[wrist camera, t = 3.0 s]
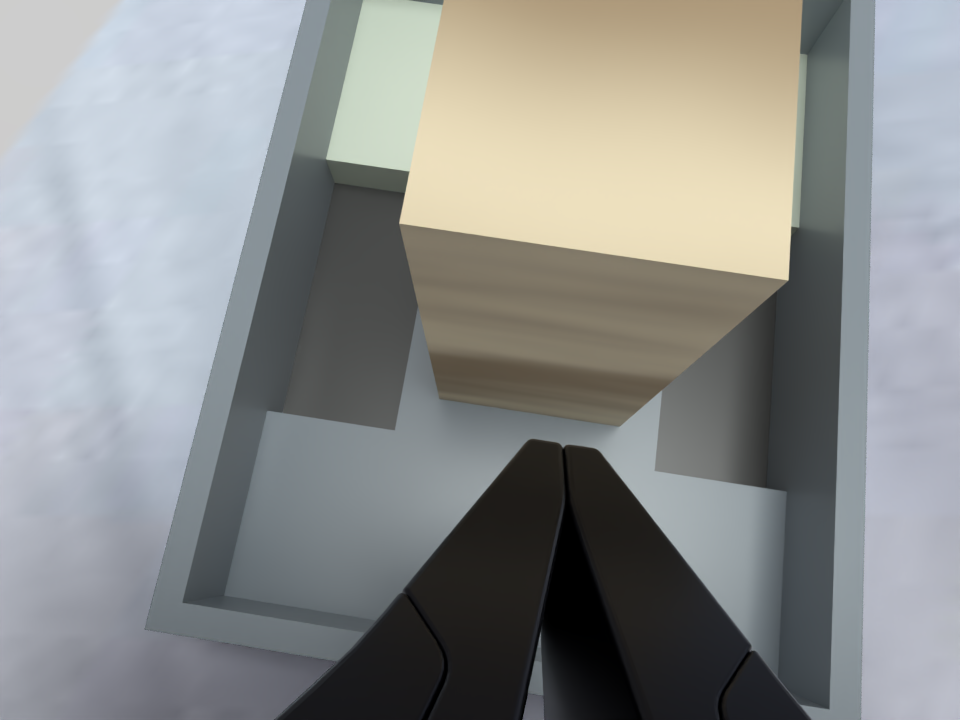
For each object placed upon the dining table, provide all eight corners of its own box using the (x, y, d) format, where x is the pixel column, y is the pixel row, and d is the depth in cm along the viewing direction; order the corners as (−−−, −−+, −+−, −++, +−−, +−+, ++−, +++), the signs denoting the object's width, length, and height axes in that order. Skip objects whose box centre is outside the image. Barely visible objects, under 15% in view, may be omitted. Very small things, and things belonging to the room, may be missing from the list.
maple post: (619, 427, 18) (788, 280, 8) (439, 399, 18) (398, 223, 8) (638, 258, 19) (804, -42, 9) (468, 233, 19) (461, -88, 10)
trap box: (776, 705, 18) (860, 749, 14) (214, 613, 18) (144, 629, 14) (806, 73, 22) (876, -28, 18) (356, 11, 23) (332, -100, 19)
